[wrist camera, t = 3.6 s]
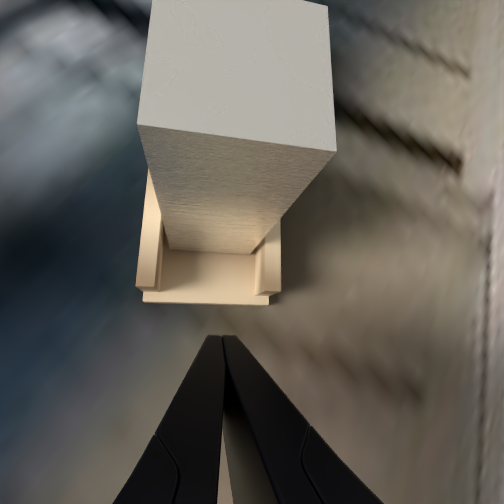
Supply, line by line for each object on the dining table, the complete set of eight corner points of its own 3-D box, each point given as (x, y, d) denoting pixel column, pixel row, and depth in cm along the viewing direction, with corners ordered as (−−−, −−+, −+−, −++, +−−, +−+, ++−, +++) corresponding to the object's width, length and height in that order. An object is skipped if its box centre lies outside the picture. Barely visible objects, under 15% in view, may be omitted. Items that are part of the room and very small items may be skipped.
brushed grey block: (249, 254, 17) (336, 151, 7) (170, 249, 16) (137, 123, 6) (252, 123, 19) (320, -102, 9) (181, 112, 18) (171, -149, 8)
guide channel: (264, 306, 18) (281, 301, 14) (145, 302, 16) (134, 297, 13) (265, 51, 22) (278, 4, 19) (172, 32, 21) (169, -21, 18)
